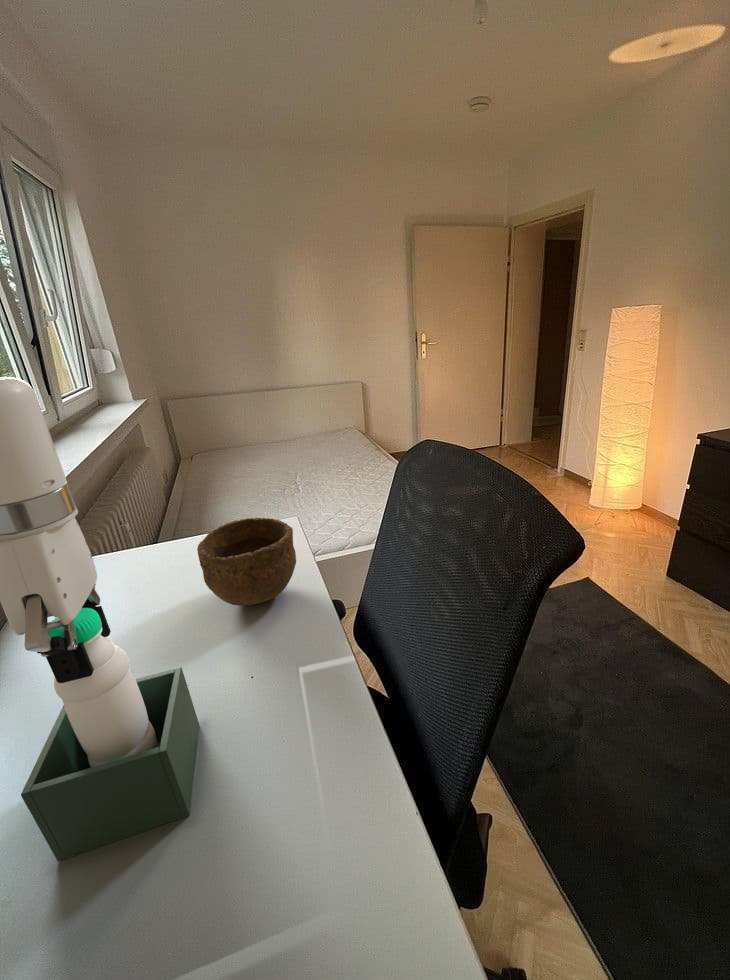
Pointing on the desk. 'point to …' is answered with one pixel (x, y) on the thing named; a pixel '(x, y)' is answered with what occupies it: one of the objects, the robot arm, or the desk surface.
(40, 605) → the robot arm
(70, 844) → the green storage bin
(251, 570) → the bowl
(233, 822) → the desk surface
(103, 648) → the water bottle
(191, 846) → the desk surface
